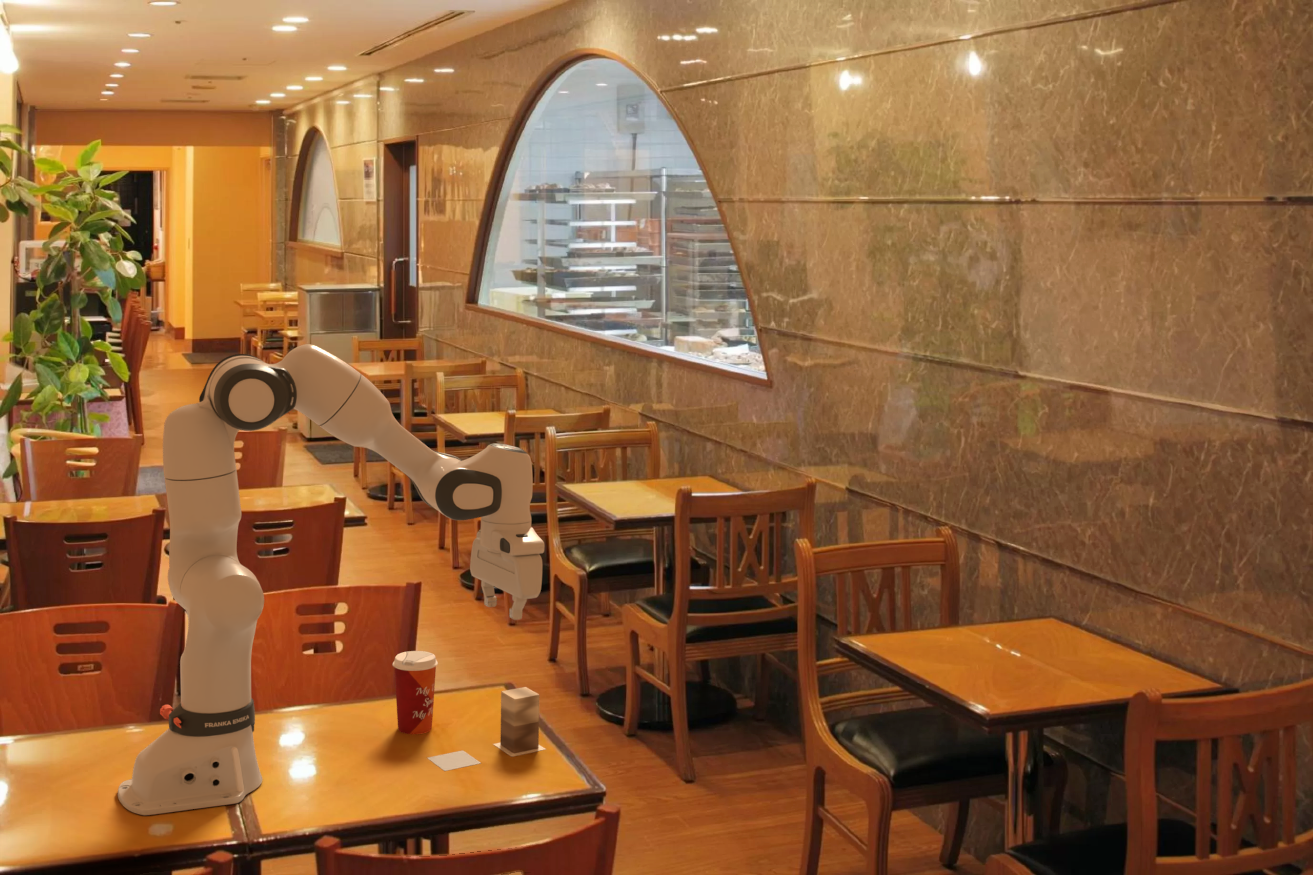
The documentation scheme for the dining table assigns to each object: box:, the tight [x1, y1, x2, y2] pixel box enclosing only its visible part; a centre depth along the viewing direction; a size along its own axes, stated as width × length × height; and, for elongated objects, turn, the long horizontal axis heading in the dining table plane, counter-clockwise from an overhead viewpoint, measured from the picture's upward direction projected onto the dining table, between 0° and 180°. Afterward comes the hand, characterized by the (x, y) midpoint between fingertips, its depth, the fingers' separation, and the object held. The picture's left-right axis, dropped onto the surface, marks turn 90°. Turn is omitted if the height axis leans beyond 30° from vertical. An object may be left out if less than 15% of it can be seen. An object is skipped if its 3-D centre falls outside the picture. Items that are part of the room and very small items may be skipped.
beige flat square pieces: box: [426, 742, 547, 772], centre depth 238 cm, size 22×14×1 cm, turn 125°
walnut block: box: [499, 717, 540, 754], centre depth 241 cm, size 5×5×5 cm
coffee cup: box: [392, 650, 439, 735], centre depth 249 cm, size 8×8×15 cm
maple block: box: [500, 686, 540, 726], centre depth 241 cm, size 5×5×5 cm
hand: (502, 612), depth 238 cm, fingers open, 8 cm apart
